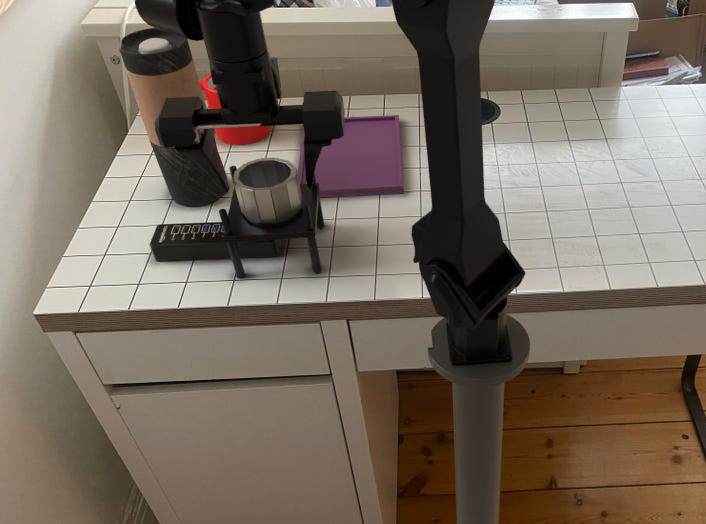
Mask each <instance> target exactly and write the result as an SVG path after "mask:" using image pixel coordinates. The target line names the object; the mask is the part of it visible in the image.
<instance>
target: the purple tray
mask: <svg viewBox="0 0 706 524" xmlns="http://www.w3.org/2000/svg"><path fill="white" fill-rule="evenodd" d="M400 127H401V126H400V115H399V114H390V115H386V114H385V115H369V116H367V115H366V116H345V120H344V136H343V137H341V138H339V139H333V142H332V145H330V146H324V147H323V148H322V150H321V153H320V155H319V158H318V160H317V163H316V168H315V178H316V183H319V188H320V189H319V196H320V199H321V198H322V199H323V198H339V197H340V198H341V197H357V196H374V195H391V194H392V195H393V194H395V195H396V194H404V177H403V175H404V173H403V159H402V144H401V129H400ZM301 135H302V136H301V142H300V151H299V157H298V159H299V160H298V168H297V174H298V179H299V184H307V182H306V173H305V158H304V136H305V133H304V127H303V126H302V134H301Z"/></svg>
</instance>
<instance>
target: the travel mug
mask: <svg viewBox="0 0 706 524" xmlns="http://www.w3.org/2000/svg"><path fill="white" fill-rule="evenodd" d="M118 51H119V53H120V56H121V59H122V62H123V65H124V68H125V71H126V73H127V76H128V80H129V83H130V86H131V89H132V92H133V95H134V98H135V101H136V104H137V107H138V110H139V113H140V116H141V119H142V122H143V126H144V128H145V131H146V134H147V137H148V140H149V143H150V145H151V148H152V151H153V154H154V156H155V159H156V162H157V165H158V166H159V169H160V172H161V174H162V177H163V180H164V182H165V185H166V188H167V190H168V193H169V195H170V198H171V200H172V201H173V202H174V203H176V204H177V205H180V206H184V207H201V206H205V205H206V206H207V205H209V204H212V203H214V202H216V201H218V200H219V199H220V198H222V197H223V196H224V195H225V194H226V193H225V192H224V191H223V190H222V189H221V188H220V187H219V186H218V185H217V184H216V183H215V182H214V180H213V179H212V178H211V177H210V176H209V175H208V174H207V173H206V172H205V171H204V170H203V169H202V168H201V167H200V166H199V165H198V164H196V163H195V162H194V161H193V160H192V159H191V158H189V157H188V156H187V155H186V154H183V153H182V154H179V153H177V152H176V151H175V148H174V147H163V146H161V145H160V143H159V140H158V137H157V134H156V131H155V120H156V118H157V116H158V113H159V111H160V108H161V106H162V104H163V102H164V101H165V99H166V98H179V97H200V98H201V100H202V101H203V104H204V108H205V109H208V107H207V104H206V100H205V98H204V97H205V96H204V92H203V90H202V89H201V86H200V82H199V80H200V79H199V76H198V73H197V72H198V71H197V69H196V65H195V60H194V58H193V54H192V50H191V47H190V43H189V39H187V38H184V37H181V36H178V35H175V34H172V33H169V32H166V31H163V30H160V29H157V28H154V27H150V28H143V29H139V30H136V31H134V32H131V33H129V34H127V35H125V36H123V37H122V39H121V40H120V48H118ZM212 131H213V136H214V141H215V144H216V147H217V150H218V145H217V141H216V138H215V131H214V128H213V129H212ZM218 151H219V150H218Z"/></svg>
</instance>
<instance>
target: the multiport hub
mask: <svg viewBox="0 0 706 524" xmlns="http://www.w3.org/2000/svg"><path fill="white" fill-rule="evenodd" d="M223 235H224V228H223V224H222V221H214V222H213V221H212V222H182V223H161V224H157V226H155V229H154V232H153V234H152V237H151V240H150V242H149V247H150V249H151V252H152V255H153V258H154V260H155V261H156V262H176V261H177V262H179V261H203V260H205V261H206V260H230V259H231V255H230V252H229V249H228V245H227V243H225V242H224V239H223ZM281 242H282V239H280V240H262V241H245V242H236V243H237V247H238V250H239V254H240V257H241V259H253V258H254V259H255V258H256V259H257V258H276V257H278V256H279V252H280V248H281ZM231 260H232V259H231Z"/></svg>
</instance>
